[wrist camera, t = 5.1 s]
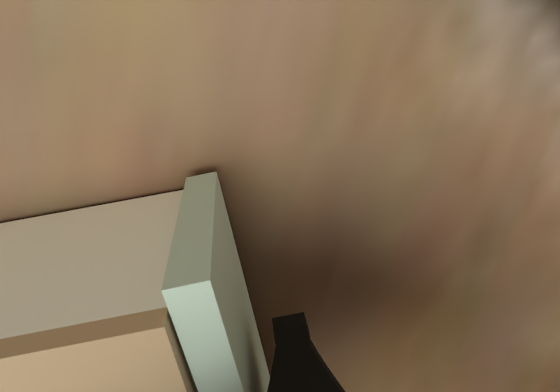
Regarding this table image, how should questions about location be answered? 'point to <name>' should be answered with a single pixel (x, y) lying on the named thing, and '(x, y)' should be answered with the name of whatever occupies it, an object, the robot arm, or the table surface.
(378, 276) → the table surface
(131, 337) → the cabinet
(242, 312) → the door
